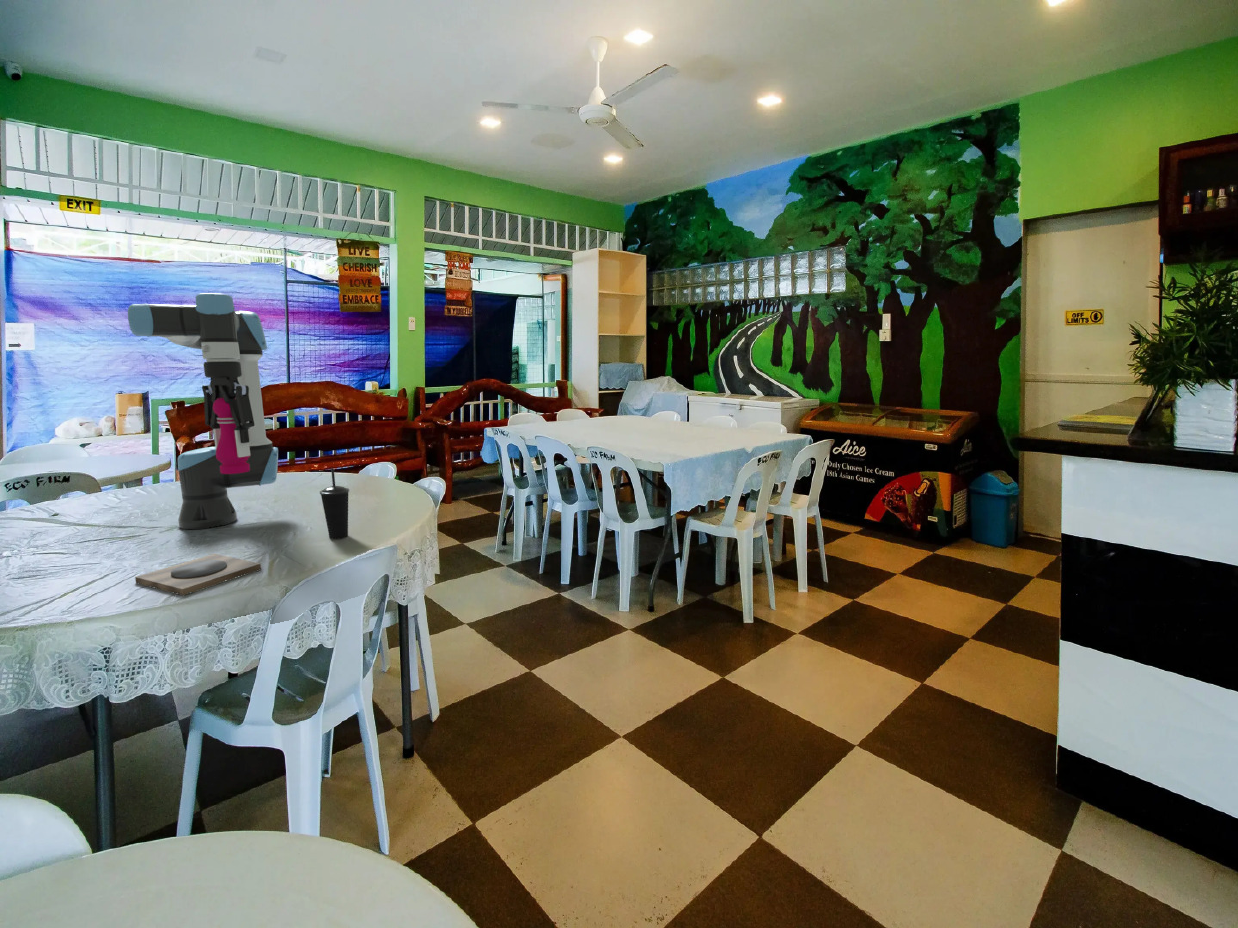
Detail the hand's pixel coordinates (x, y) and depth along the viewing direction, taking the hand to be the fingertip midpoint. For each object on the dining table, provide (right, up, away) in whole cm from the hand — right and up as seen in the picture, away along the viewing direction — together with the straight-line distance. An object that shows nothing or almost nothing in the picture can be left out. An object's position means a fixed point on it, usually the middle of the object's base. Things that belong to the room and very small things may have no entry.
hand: (233, 455), depth 150 cm
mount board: (-5, -29, -5) cm, 30 cm away
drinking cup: (+14, -23, +25) cm, 37 cm away
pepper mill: (0, -4, +1) cm, 4 cm away
